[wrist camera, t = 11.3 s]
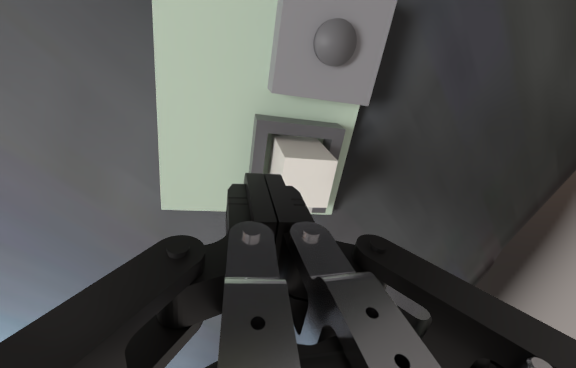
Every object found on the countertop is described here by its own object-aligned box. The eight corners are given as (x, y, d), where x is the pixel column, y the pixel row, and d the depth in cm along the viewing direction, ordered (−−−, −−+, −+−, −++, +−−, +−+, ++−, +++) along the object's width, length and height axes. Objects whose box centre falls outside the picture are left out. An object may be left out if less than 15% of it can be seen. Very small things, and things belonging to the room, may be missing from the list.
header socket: (254, 113, 24) (257, 119, 22) (337, 123, 25) (345, 129, 24) (245, 199, 27) (247, 210, 25) (319, 202, 29) (325, 213, 27)
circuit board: (152, -59, 18) (134, -83, 15) (382, -3, 22) (411, -11, 19) (163, 204, 27) (153, 229, 23) (328, 209, 31) (341, 231, 27)
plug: (272, 132, 25) (284, 157, 19) (315, 136, 26) (338, 161, 20) (266, 181, 27) (276, 215, 21) (306, 183, 28) (325, 216, 22)
